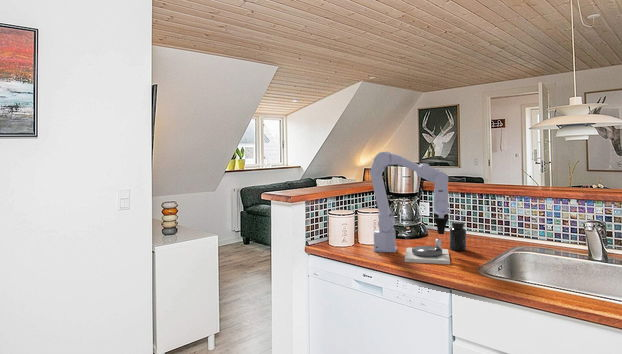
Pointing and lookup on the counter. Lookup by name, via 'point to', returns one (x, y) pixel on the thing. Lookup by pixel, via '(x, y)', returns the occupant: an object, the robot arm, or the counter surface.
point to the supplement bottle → (457, 237)
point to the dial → (428, 250)
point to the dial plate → (420, 259)
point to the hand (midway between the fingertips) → (440, 232)
